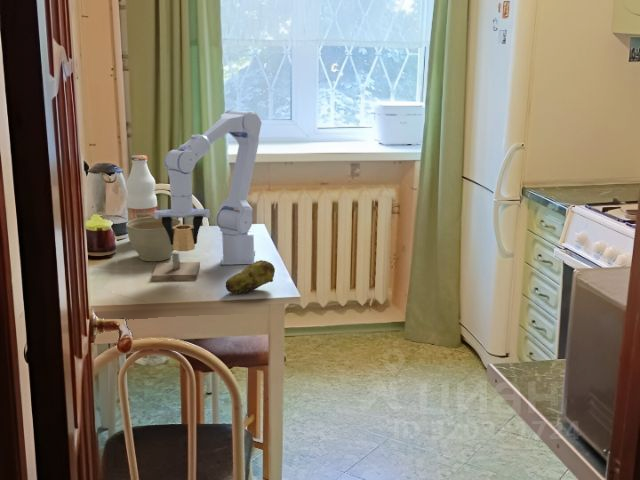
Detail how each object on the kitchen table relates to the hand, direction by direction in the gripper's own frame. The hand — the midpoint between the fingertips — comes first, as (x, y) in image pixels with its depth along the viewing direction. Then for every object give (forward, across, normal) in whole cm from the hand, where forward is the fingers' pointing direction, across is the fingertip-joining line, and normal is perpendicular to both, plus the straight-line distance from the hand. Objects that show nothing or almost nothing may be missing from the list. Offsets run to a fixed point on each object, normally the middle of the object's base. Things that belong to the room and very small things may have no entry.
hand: (183, 243), depth 215 cm
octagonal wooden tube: (+1, 0, 0) cm, 1 cm away
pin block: (+10, -3, +3) cm, 11 cm away
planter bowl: (+10, -10, +20) cm, 25 cm away
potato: (+10, +18, -14) cm, 25 cm away
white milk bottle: (+10, -16, +39) cm, 43 cm away
